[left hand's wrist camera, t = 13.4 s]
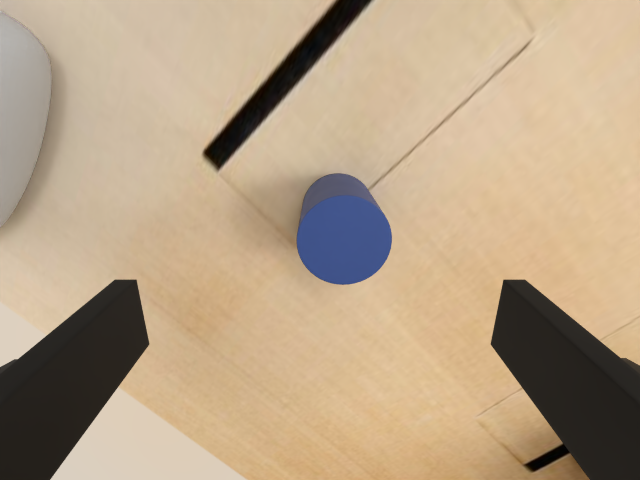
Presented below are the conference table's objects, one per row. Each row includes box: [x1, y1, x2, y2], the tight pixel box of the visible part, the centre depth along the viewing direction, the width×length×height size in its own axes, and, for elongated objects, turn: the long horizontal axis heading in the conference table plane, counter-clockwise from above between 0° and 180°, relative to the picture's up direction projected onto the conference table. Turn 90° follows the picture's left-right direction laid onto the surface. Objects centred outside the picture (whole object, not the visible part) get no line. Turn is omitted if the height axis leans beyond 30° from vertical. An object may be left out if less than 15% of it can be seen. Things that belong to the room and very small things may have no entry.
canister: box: [297, 174, 392, 285], centre depth 34 cm, size 8×8×11 cm
